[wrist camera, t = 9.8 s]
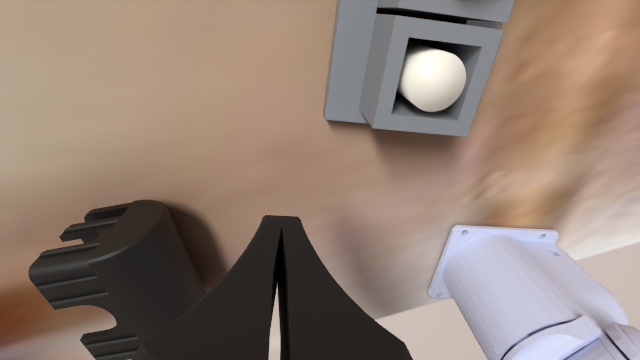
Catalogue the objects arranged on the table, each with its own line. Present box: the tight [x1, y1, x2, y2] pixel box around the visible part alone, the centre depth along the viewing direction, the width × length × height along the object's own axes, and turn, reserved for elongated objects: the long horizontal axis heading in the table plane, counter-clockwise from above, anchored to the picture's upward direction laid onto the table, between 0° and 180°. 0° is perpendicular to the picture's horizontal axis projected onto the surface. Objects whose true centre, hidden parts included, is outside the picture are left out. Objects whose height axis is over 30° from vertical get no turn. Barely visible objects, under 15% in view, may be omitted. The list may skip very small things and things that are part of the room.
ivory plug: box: [397, 42, 466, 112], centre depth 17 cm, size 3×3×5 cm
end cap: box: [29, 200, 207, 360], centre depth 22 cm, size 10×7×7 cm
